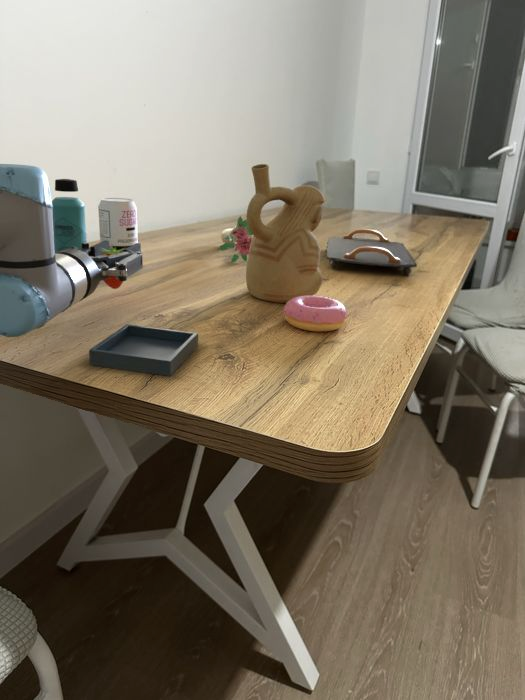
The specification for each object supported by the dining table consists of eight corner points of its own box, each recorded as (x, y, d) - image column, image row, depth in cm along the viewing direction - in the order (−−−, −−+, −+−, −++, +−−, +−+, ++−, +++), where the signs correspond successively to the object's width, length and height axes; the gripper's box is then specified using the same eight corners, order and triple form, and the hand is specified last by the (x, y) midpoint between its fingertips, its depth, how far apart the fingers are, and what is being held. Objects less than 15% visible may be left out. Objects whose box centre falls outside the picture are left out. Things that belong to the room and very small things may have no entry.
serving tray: (418, 279, 126) (422, 253, 124) (323, 270, 128) (326, 245, 126) (400, 250, 162) (404, 230, 160) (326, 244, 164) (328, 224, 162)
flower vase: (239, 271, 155) (267, 272, 122) (201, 258, 152) (218, 256, 118) (251, 233, 154) (282, 224, 121) (212, 219, 151) (233, 205, 117)
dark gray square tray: (89, 364, 68) (88, 350, 67) (127, 336, 78) (126, 323, 77) (170, 376, 66) (170, 361, 65) (198, 346, 76) (198, 332, 75)
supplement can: (109, 261, 124) (106, 196, 118) (143, 264, 123) (141, 199, 118) (95, 268, 116) (91, 200, 111) (131, 271, 116) (129, 202, 110)
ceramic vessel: (341, 297, 106) (356, 169, 97) (274, 313, 93) (285, 167, 84) (281, 279, 117) (290, 163, 108) (214, 292, 104) (218, 160, 95)
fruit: (112, 294, 89) (110, 247, 86) (91, 288, 91) (89, 242, 88) (135, 288, 93) (134, 243, 90) (114, 282, 96) (113, 239, 93)
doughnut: (359, 328, 88) (362, 305, 87) (310, 338, 82) (312, 313, 81) (317, 311, 96) (319, 289, 95) (269, 319, 90) (271, 296, 89)
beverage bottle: (56, 278, 107) (47, 176, 99) (90, 278, 109) (83, 178, 101) (54, 287, 101) (45, 179, 93) (90, 286, 103) (83, 181, 96)
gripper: (6, 298, 76) (76, 265, 97) (126, 310, 74) (171, 273, 96) (-1, 247, 73) (73, 224, 94) (125, 258, 71) (171, 232, 93)
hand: (122, 249), depth 95 cm, fingers closed on fruit, 5 cm apart
